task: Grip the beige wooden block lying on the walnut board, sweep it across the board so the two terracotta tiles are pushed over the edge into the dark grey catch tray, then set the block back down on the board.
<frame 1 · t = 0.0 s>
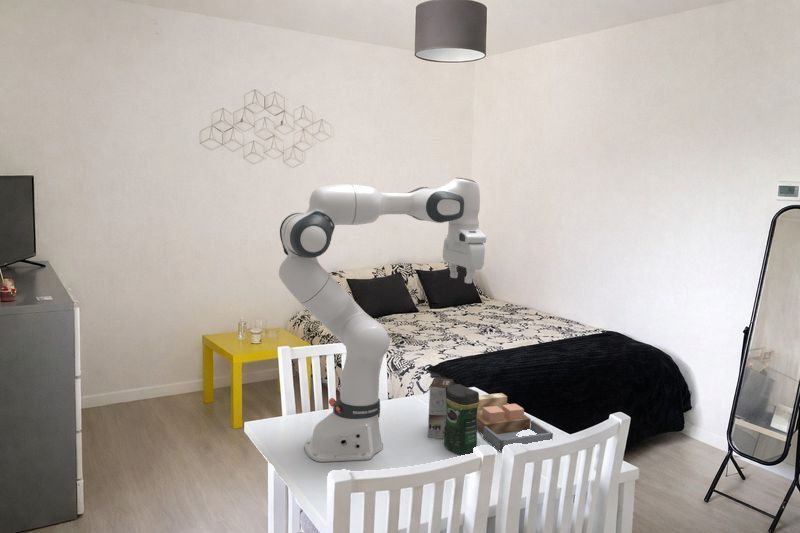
hand: (460, 280, 188), 48 cm above the table, tool pointing down, fingers open, 8 cm apart
coffee jar: (460, 448, 185), on the table
tile a: (493, 418, 197), point 4 cm above the table, touching board
board: (495, 424, 203), on the table
tile b: (512, 416, 200), point 4 cm above the table, touching board
beige wooden block: (488, 406, 207), point 4 cm above the table, touching board
coffee box: (439, 433, 195), on the table
tray: (517, 441, 191), on the table
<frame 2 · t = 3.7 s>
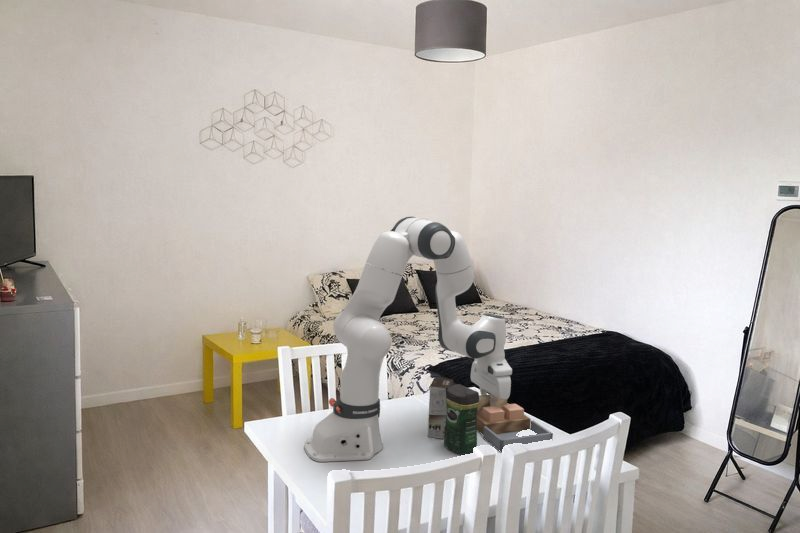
hand: (488, 403, 207), 5 cm above the table, tool pointing down, fingers closed on beige wooden block, 3 cm apart
beige wooden block: (488, 406, 207), point 4 cm above the table, touching board, gripper
everything else where it was.
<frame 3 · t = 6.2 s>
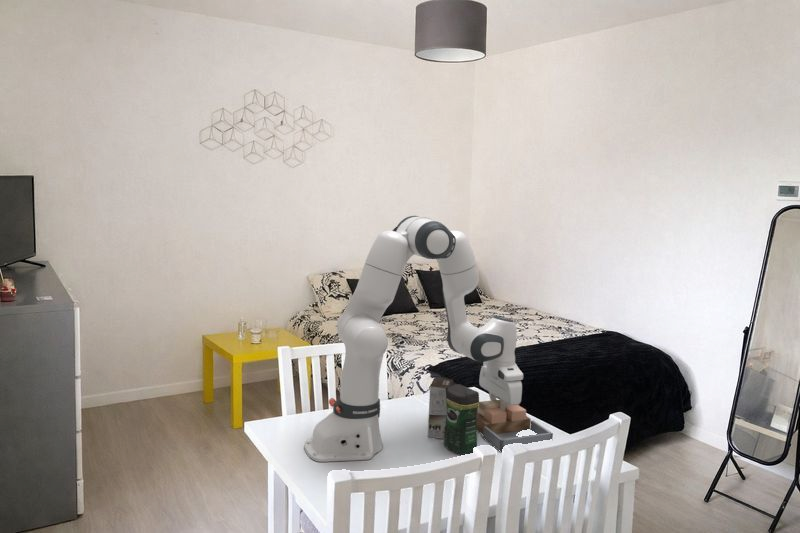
hand: (497, 409, 201), 6 cm above the table, tool pointing down, fingers closed on beige wooden block, 3 cm apart
tile a: (494, 419, 196), point 4 cm above the table
tile b: (514, 417, 199), point 4 cm above the table, touching board
beige wooden block: (497, 412, 202), point 4 cm above the table, touching gripper
everything else where it was.
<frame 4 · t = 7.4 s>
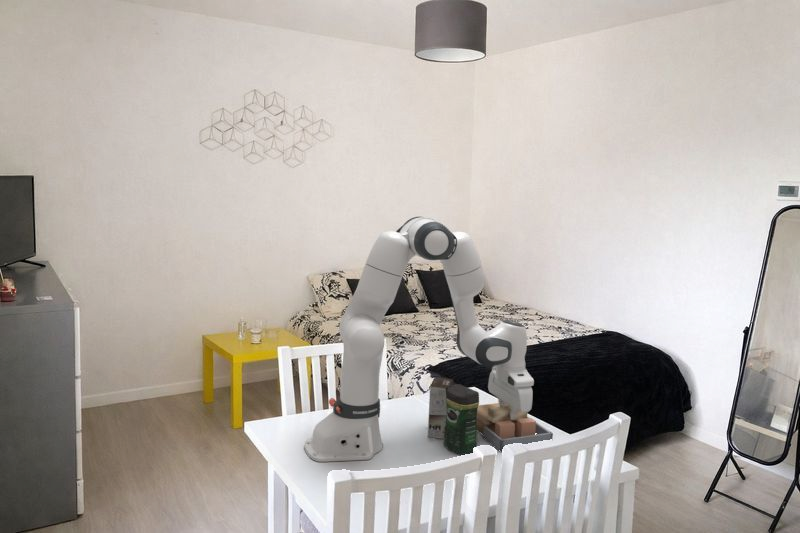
hand: (507, 415, 196), 6 cm above the table, tool pointing down, fingers closed on beige wooden block, 4 cm apart
tile a: (502, 429, 192), point 3 cm above the table, tilted 90°, touching tray
tile b: (523, 426, 195), point 3 cm above the table, tilted 90°, touching tray
beige wooden block: (507, 418, 196), point 5 cm above the table, touching gripper
everything else where it was.
when the fingers open (6 cm above the table, at t = 12.3 s): beige wooden block drops 1 cm, resting on board.
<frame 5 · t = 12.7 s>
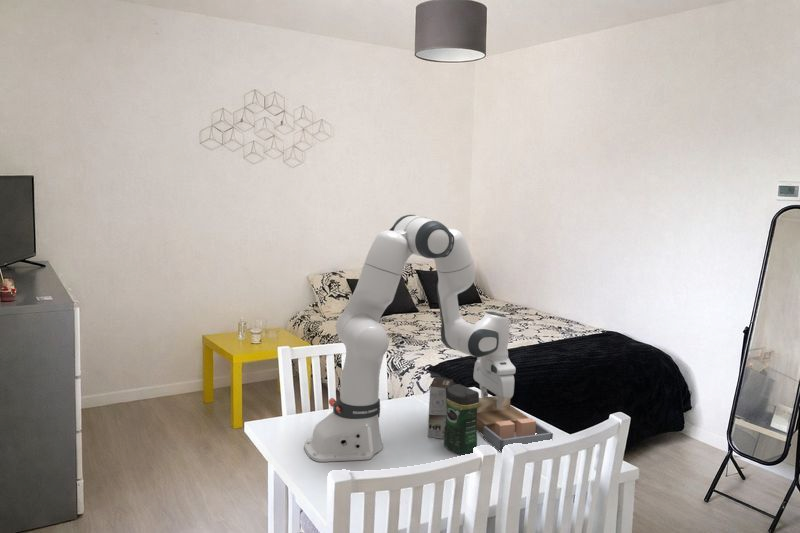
hand: (491, 402, 205), 6 cm above the table, tool pointing down, fingers open, 8 cm apart
beige wooden block: (490, 408, 206), point 4 cm above the table, touching board
everything else where it was.
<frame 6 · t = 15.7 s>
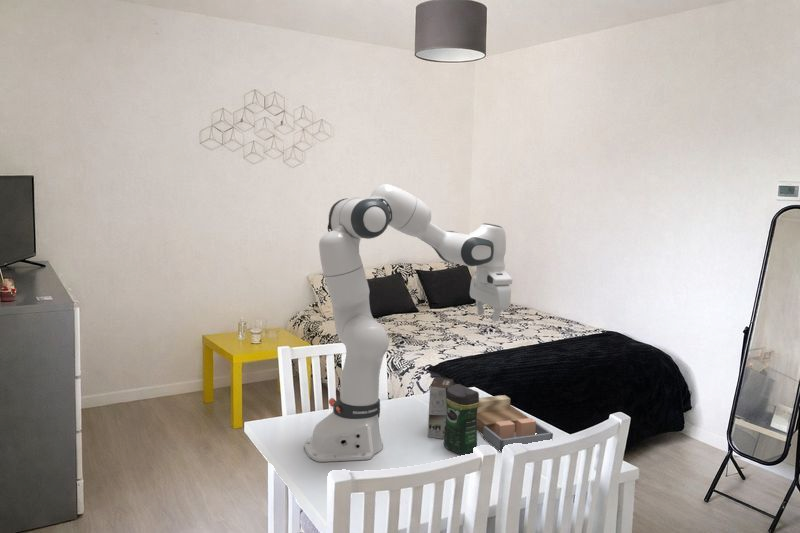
hand: (487, 317, 202), 34 cm above the table, tool pointing down, fingers open, 8 cm apart
nothing on the table moved.
at the end: tile a inside the target area on the tray (4.8 cm from its centre), point 3.0 cm above the tray's base; tile b inside the target area on the tray (4.7 cm from its centre), point 3.0 cm above the tray's base; beige wooden block inside the target area on the board (3.5 cm from its centre), point 4.0 cm above the board's base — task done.
